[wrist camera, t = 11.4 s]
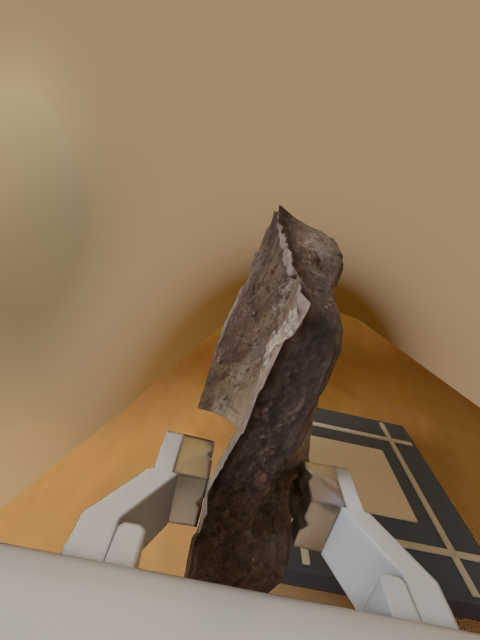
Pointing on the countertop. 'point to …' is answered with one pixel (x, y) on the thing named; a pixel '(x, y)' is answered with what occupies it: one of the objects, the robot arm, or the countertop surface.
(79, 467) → the countertop surface
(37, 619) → the robot arm
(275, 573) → the mineral sample
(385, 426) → the board
